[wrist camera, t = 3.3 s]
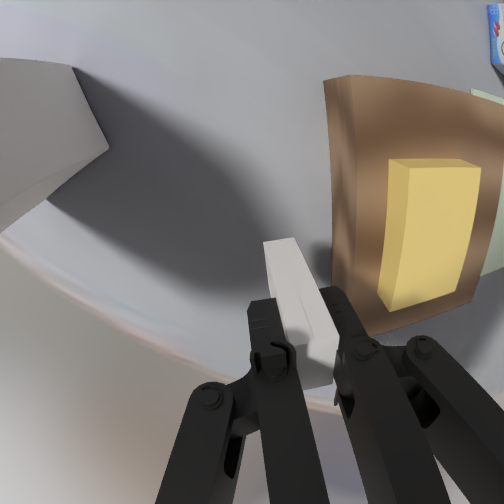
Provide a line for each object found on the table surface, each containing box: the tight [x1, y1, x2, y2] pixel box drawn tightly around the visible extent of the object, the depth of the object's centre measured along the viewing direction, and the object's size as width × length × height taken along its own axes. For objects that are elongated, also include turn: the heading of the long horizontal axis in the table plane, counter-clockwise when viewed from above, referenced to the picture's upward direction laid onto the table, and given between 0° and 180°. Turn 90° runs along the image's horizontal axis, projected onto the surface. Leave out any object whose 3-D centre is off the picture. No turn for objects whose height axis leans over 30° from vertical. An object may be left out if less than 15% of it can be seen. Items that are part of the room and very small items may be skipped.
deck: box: [323, 75, 504, 337], centre depth 17 cm, size 18×14×4 cm
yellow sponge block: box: [377, 159, 481, 312], centre depth 14 cm, size 9×6×2 cm, turn 8°
